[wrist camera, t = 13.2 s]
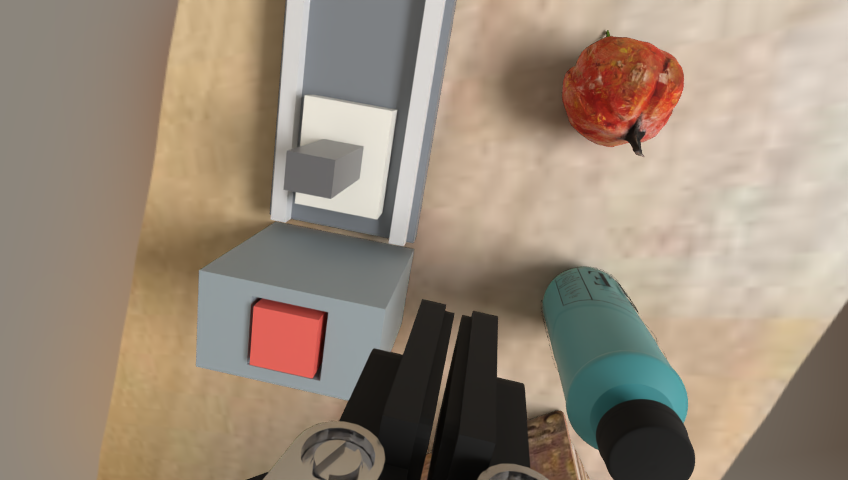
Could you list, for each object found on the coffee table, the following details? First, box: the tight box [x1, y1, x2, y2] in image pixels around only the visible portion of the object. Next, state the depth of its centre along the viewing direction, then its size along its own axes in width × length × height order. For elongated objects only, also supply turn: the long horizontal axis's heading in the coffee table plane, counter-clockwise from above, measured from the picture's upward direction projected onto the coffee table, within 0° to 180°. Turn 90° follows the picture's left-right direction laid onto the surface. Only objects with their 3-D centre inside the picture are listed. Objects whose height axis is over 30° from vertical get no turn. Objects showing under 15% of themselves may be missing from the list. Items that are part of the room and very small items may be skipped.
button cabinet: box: [196, 221, 414, 401], centre depth 38 cm, size 7×12×12 cm, turn 81°
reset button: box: [250, 298, 328, 378], centre depth 34 cm, size 4×4×4 cm
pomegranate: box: [562, 30, 684, 157], centre depth 34 cm, size 7×7×10 cm
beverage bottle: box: [541, 267, 695, 480], centre depth 32 cm, size 6×7×20 cm
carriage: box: [284, 95, 397, 219], centre depth 35 cm, size 8×6×9 cm
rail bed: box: [270, 0, 456, 246], centre depth 38 cm, size 22×12×3 cm, turn 171°
